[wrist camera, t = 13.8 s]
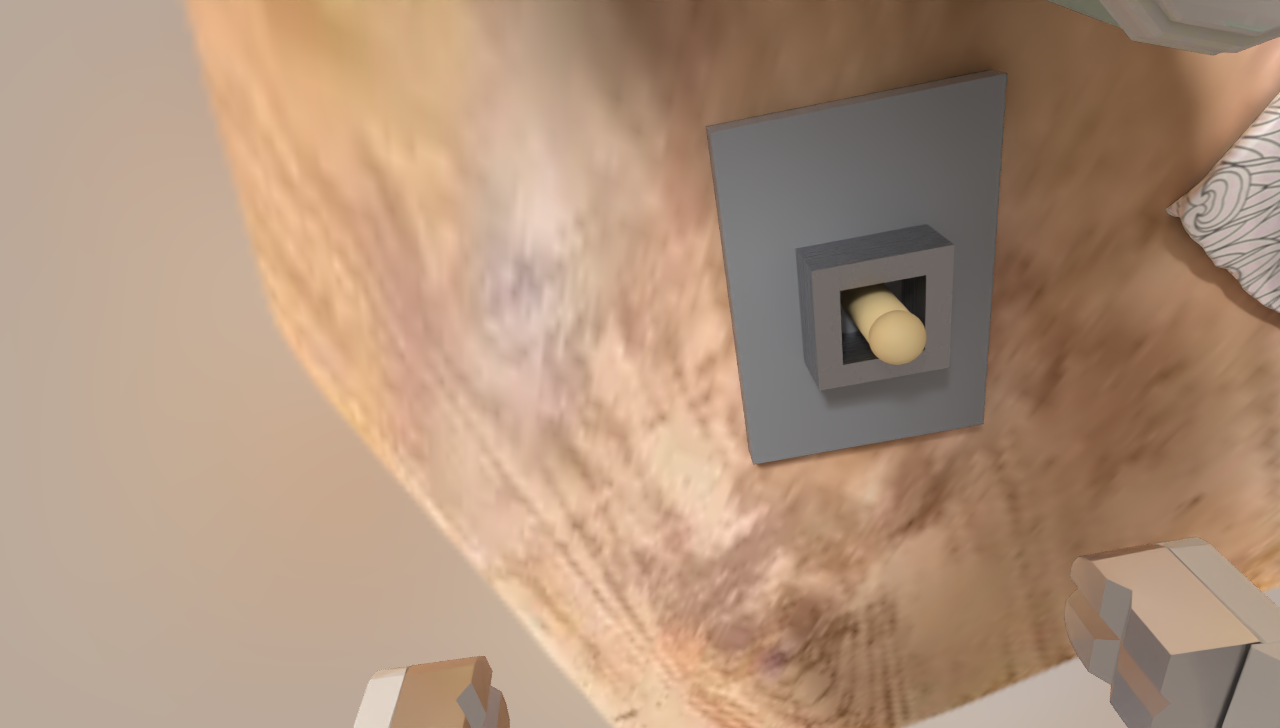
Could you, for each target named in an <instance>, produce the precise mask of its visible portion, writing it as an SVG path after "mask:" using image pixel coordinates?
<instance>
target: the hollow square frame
mask: <svg viewBox="0 0 1280 728" xmlns="http://www.w3.org/2000/svg"><path fill="white" fill-rule="evenodd" d="M795 250H796V263H797V277H798V290H799V303H800V316H801V329H802V342H803V355H804V362H805V364H806V366H807V368H808V370H809V372H810V374H811V376H812V378H813V380H814V381H815V383H816V385H817V387H818V389H819V391H820V390H826V389H832V388H837V387H843V386H848V385H854V384H860V383H865V382H871V381H877V380H882V379H888V378H893V377H899V376H905V375H910V374H916V373H921V372H927V371H933V370H938V369H944V368H949V364H950V340H951V315H952V290H953V266H954V244H953V243H952V242H950V241H949V240H948V239H946V238H945V237H944V236H942V235H941V234H940V233H938V232H937V231H936V230H934V229H933V228H932V227H930V226H929V225H928V224H923V225H918V226H913V227H907V228H902V229H897V230H891V231H886V232H881V233H875V234H870V235H865V236H859V237H854V238H849V239H844V240H838V241H833V242H828V243H822V244H817V245H812V246H806V247H801V248H796V249H795ZM896 280H902V293H901V303H902V304H903V305H904V306H905V307H906V308H907V310H908V311H909V312H910V313H912V314H914V315H915V316H916V317H918V318H919V319H920V321H921V322H922V323H923V325H924V327H925V330H926V336H927V338H926V344H925V347H924V349H923V351H922V352H921V354H920V355H919V356H918V357H917V358H916V359H914V360H913V361H911V362H909V363H906V364H901V365H894V364H888V363H886V362H883V361H882V360H880V359H879V358H878V357H877V356H876V355H875V354H874V353H873V352H872V350H871V348H870V345H869V343H868V341H867V340H866V339H865V337H864V336H863V334H862V333H861V332H860V331H856V332H851V333H845V334H842V330H841V308H840V291H842V290H848V289H853V288H858V287H864V286H869V285H875V284H880V283H886V282H891V281H896Z"/></svg>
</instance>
